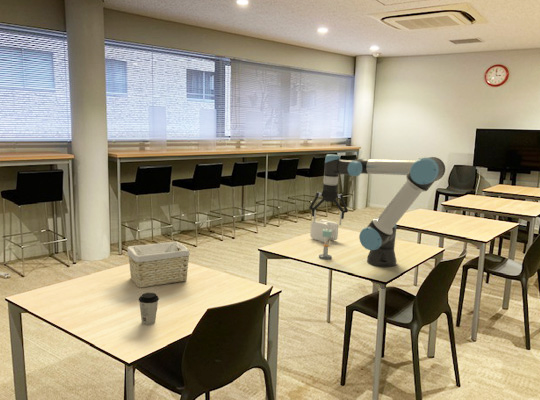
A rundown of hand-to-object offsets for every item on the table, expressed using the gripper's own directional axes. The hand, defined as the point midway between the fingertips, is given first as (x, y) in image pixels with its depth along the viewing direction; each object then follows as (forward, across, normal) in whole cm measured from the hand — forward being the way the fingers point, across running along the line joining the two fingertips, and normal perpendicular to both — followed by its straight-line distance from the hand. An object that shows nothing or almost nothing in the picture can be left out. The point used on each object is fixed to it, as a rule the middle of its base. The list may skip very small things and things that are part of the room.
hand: (327, 223), depth 256 cm
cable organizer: (+19, +2, -39) cm, 43 cm away
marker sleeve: (+7, 0, 0) cm, 7 cm away
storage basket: (+20, +72, +57) cm, 93 cm away
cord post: (+19, 0, 0) cm, 19 cm away
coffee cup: (+19, +59, +99) cm, 117 cm away
